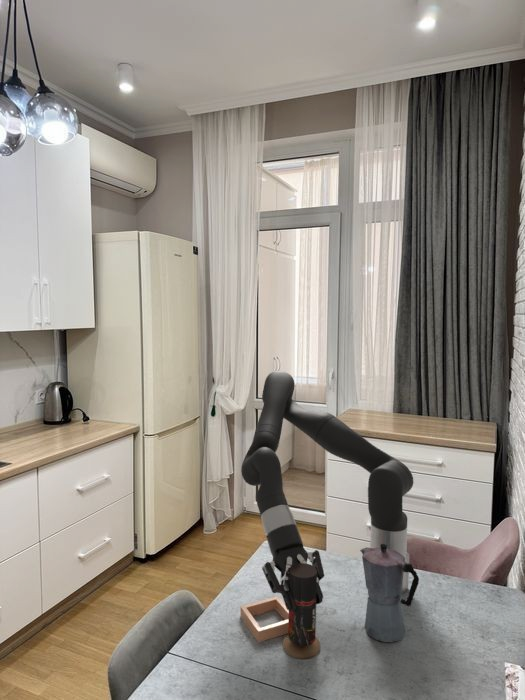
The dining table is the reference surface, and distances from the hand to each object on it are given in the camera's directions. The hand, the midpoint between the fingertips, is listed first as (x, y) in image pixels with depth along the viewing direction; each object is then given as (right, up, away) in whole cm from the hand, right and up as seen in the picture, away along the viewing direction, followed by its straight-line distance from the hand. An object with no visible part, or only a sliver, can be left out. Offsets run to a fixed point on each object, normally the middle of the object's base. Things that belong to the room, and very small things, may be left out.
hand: (306, 606), depth 102 cm
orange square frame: (-8, -9, +10) cm, 16 cm away
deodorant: (-1, -8, +2) cm, 8 cm away
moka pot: (+19, -10, +7) cm, 22 cm away
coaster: (-1, -10, +2) cm, 10 cm away
